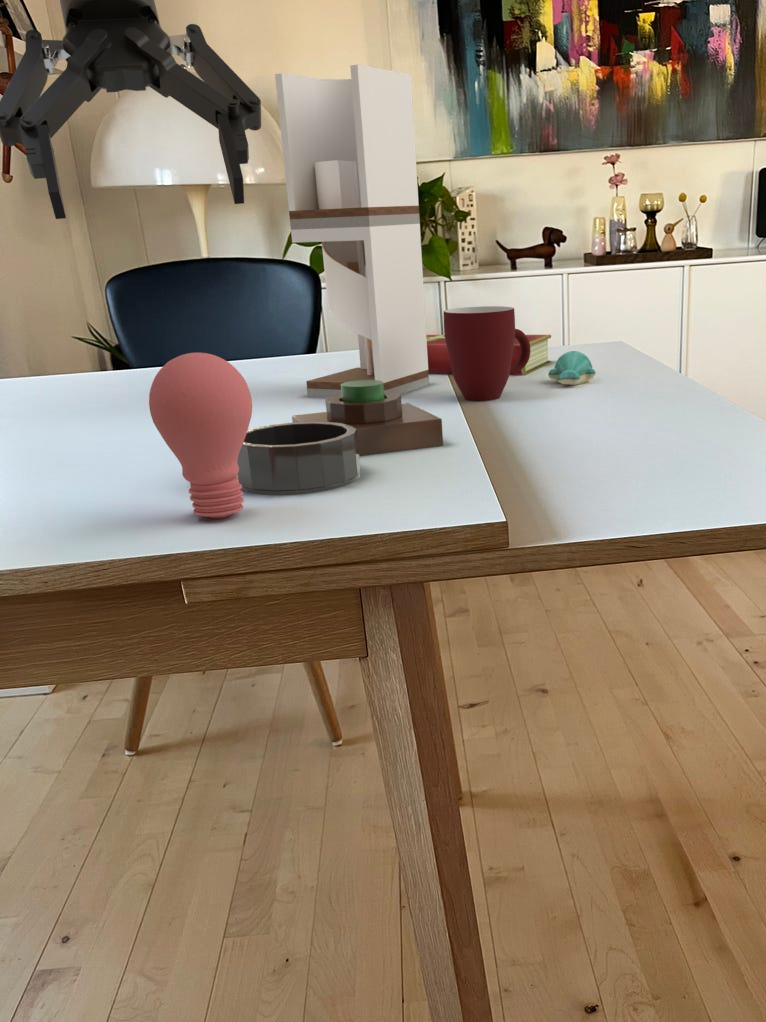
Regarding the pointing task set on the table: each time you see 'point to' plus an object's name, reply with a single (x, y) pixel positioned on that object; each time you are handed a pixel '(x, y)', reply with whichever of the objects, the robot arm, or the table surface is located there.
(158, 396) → the light bulb
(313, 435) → the lamp socket
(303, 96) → the white shelf unit
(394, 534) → the table surface
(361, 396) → the button
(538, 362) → the hardcover book
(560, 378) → the toy turtle
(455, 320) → the mug
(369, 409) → the lamp base
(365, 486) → the table surface
